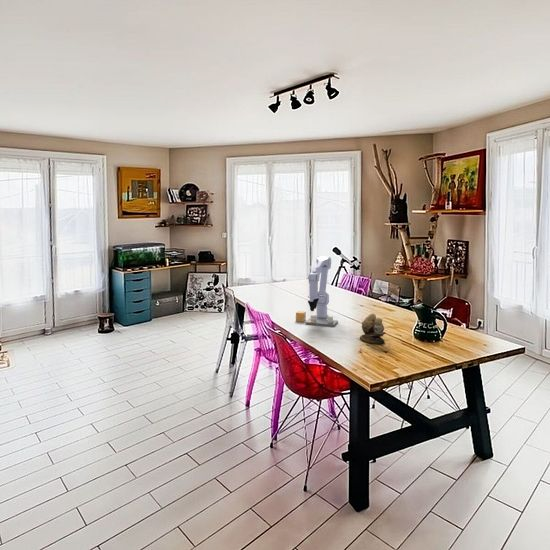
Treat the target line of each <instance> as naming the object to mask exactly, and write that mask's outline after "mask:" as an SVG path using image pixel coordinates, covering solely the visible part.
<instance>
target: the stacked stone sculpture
mask: <svg viewBox="0 0 550 550" xmlns="http://www.w3.org/2000/svg"><path fill="white" fill-rule="evenodd" d="M361 328H362V329H361V330H362V333H364V334H362V335H360V337H359V341H361V342H363V343H367V344H370V345H376V344H377V345H382V344H385V342H386V341H385V340H384V339H383V338H382V337H384V335H385V334H386V332H385V326H384V324H383V319H382V318H380V317H377V314H375V313H369V315H368V316H366V317H365V318H364V320H363V321H362V322H361Z"/></svg>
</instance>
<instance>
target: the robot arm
mask: <svg viewBox="0 0 550 550" xmlns="http://www.w3.org/2000/svg"><path fill="white" fill-rule="evenodd" d="M315 262H316V266H314V268H313V269H312V271H311V272H310V273H309V274H308V277H307V279H308V280H307V281H308V284H309V286H308V287H309V290H308V291H309V292H308V293H309V296H307V298H308V299H309V300H307V304H308V305H309V310H310V312H315V310H316V314H315V315H316V318H318V319H326V318H328V316H329V314H328V305H329V303H330V295H329V293H328V292H327V291H326V290H327V282H328V281H327V280H328V272H329V270H330V269H331V268H332V258H331V256H317V257H316V261H315Z"/></svg>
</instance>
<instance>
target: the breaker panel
mask: <svg viewBox="0 0 550 550" xmlns="http://www.w3.org/2000/svg"><path fill="white" fill-rule="evenodd" d="M304 322H305V325H309V326H320V327H331V328H335V327H336V325H338V322H339V320H335V319H333V323H328V319H326V318H316V321H311V317H309V318H308V319H306V320H305V321H304Z"/></svg>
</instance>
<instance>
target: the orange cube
mask: <svg viewBox="0 0 550 550" xmlns="http://www.w3.org/2000/svg"><path fill="white" fill-rule="evenodd" d="M306 312H307V311H301V310H297V311H296V312H295V322H302V323H304V322H306V321H307V319H306Z"/></svg>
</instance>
